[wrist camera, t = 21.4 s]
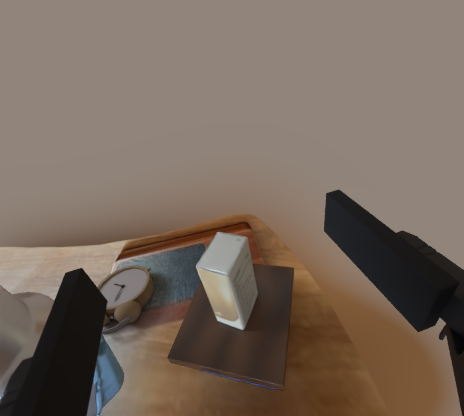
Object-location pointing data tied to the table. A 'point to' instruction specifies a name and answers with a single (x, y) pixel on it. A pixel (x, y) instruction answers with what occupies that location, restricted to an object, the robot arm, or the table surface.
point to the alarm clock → (126, 295)
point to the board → (241, 333)
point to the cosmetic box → (229, 278)
